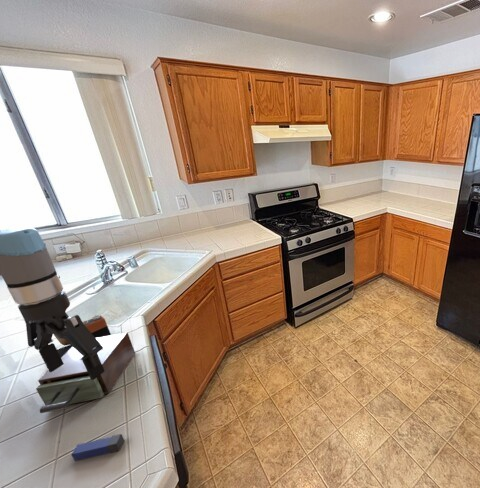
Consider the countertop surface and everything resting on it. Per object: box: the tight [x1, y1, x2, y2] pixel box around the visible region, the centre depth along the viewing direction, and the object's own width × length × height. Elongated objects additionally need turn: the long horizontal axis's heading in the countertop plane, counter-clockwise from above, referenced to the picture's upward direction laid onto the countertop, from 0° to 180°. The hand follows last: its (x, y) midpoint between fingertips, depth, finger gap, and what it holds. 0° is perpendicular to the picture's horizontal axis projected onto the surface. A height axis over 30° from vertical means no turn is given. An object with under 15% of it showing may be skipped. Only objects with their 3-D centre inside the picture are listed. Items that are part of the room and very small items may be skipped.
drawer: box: [35, 374, 105, 414], centre depth 76 cm, size 21×13×7 cm, turn 12°
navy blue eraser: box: [71, 433, 125, 462], centre depth 61 cm, size 9×2×2 cm, turn 102°
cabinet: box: [37, 332, 136, 395], centre depth 81 cm, size 17×15×9 cm
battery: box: [82, 314, 112, 338], centre depth 98 cm, size 4×7×10 cm, turn 144°
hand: (77, 371), depth 65 cm, fingers open, 13 cm apart
